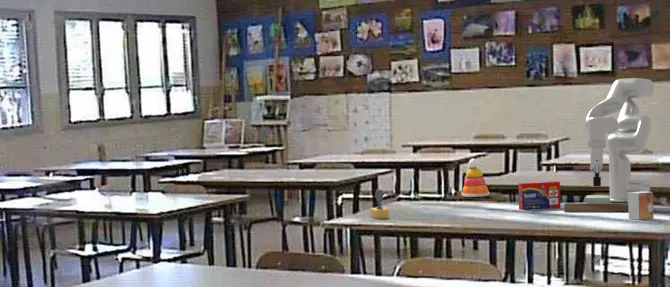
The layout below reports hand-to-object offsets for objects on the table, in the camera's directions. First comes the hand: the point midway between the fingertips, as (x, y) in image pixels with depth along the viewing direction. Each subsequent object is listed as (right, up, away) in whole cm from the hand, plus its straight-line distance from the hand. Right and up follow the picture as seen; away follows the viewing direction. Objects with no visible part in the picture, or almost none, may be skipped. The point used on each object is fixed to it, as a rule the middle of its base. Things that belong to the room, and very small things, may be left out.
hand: (597, 186), depth 434 cm
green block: (-2, -10, -10) cm, 14 cm away
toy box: (-26, -10, -3) cm, 28 cm away
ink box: (+16, -9, -9) cm, 20 cm away
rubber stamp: (-97, -13, -18) cm, 100 cm away
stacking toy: (-45, -8, +62) cm, 77 cm away
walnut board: (-5, -10, -22) cm, 25 cm away
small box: (+3, -11, -51) cm, 53 cm away
